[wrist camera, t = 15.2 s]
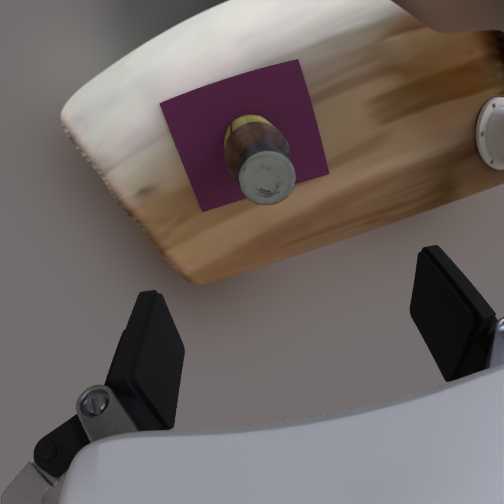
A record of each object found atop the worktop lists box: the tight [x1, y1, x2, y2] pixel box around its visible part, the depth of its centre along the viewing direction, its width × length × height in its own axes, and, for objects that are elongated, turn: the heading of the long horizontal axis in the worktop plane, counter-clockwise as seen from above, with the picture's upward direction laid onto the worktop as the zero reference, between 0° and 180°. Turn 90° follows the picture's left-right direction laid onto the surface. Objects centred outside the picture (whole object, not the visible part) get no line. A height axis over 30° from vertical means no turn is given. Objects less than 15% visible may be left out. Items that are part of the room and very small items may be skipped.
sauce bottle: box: [224, 115, 296, 205], centre depth 30 cm, size 7×6×20 cm
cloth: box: [160, 59, 329, 212], centre depth 39 cm, size 18×16×1 cm
